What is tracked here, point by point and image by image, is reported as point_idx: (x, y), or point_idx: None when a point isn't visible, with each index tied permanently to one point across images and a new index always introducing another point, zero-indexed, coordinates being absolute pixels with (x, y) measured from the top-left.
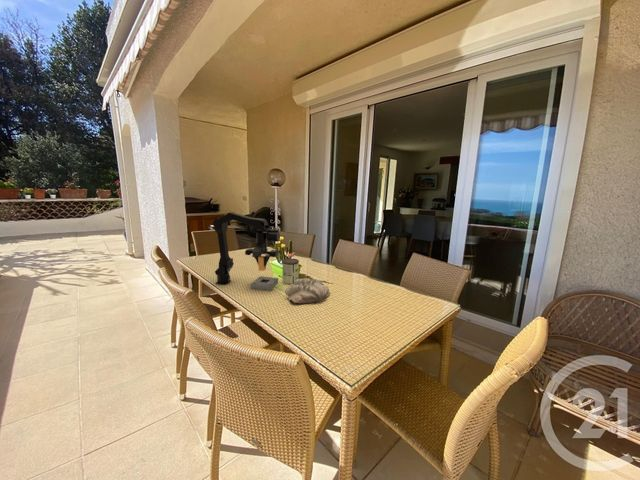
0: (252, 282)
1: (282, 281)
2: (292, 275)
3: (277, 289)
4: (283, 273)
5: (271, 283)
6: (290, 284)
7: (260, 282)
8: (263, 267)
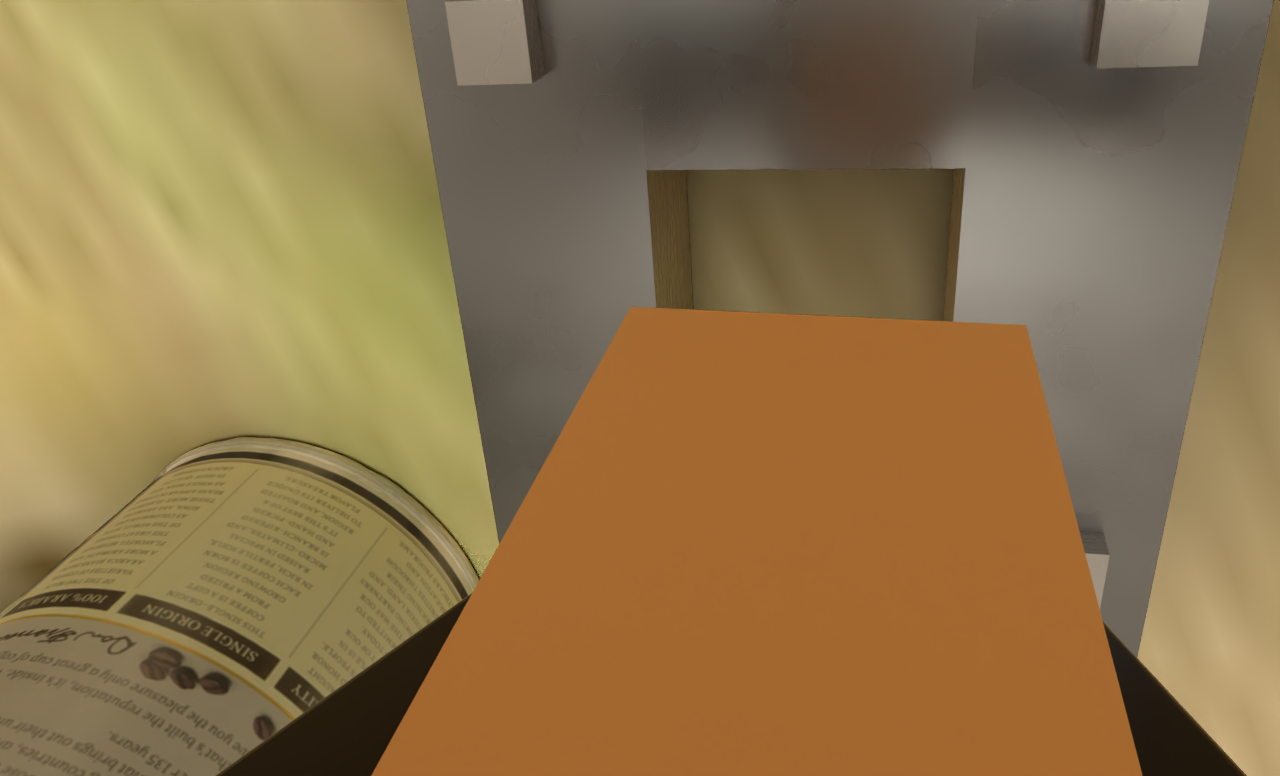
0: (1263, 15)
1: (468, 578)
2: (5, 613)
3: (332, 62)
4: (261, 690)
5: (467, 134)
6: (211, 445)
7: (899, 113)
8: (579, 428)
